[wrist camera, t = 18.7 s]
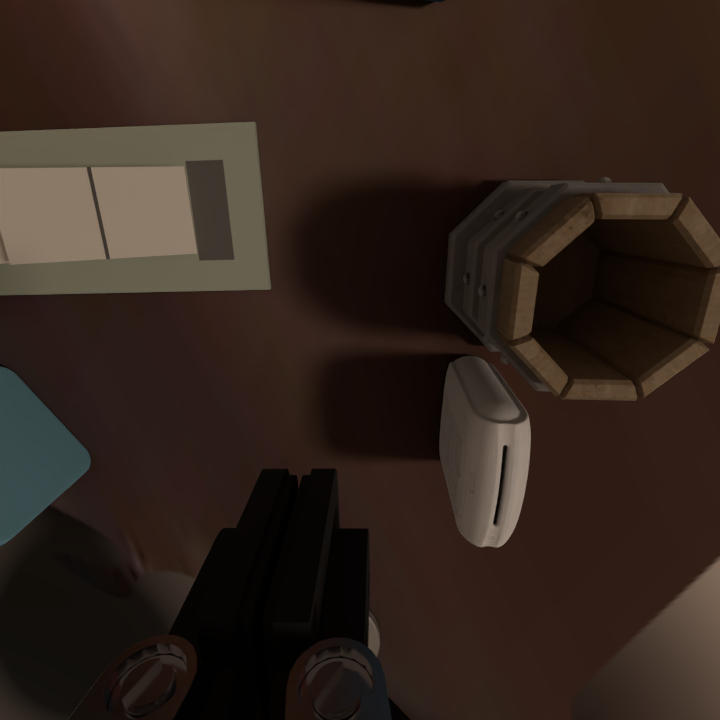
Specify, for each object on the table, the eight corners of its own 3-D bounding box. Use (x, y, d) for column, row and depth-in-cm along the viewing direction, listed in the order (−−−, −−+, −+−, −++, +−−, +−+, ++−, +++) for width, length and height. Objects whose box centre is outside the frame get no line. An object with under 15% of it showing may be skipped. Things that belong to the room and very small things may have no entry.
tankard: (441, 345, 37) (480, 429, 23) (451, 181, 33) (507, 160, 19) (687, 348, 36) (887, 437, 22) (729, 181, 32) (1008, 159, 18)
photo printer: (482, 462, 40) (524, 566, 29) (434, 460, 40) (458, 563, 29) (496, 355, 37) (550, 422, 25) (444, 353, 37) (475, 419, 25)
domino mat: (271, 288, 36) (269, 289, 35) (-105, 296, 37) (-110, 297, 37) (255, 122, 32) (254, 121, 32) (-162, 139, 34) (-169, 138, 33)
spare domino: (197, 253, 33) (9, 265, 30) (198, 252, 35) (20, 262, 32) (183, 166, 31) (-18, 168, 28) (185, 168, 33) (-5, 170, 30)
